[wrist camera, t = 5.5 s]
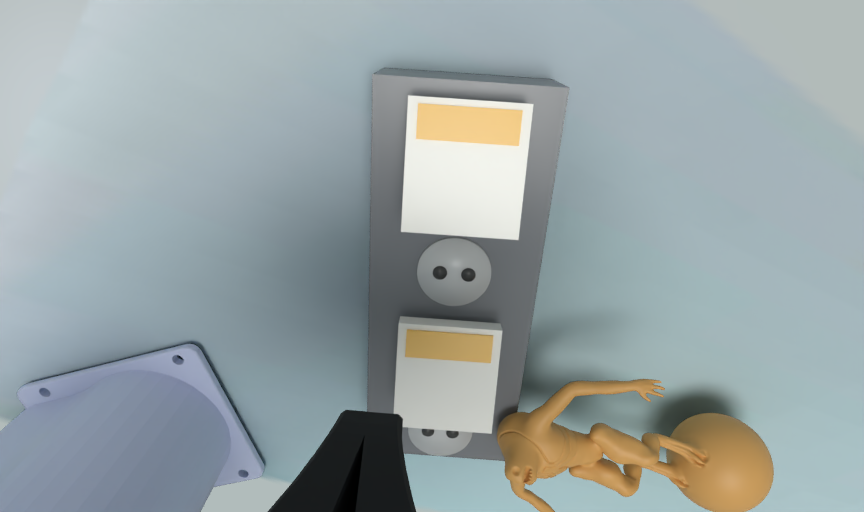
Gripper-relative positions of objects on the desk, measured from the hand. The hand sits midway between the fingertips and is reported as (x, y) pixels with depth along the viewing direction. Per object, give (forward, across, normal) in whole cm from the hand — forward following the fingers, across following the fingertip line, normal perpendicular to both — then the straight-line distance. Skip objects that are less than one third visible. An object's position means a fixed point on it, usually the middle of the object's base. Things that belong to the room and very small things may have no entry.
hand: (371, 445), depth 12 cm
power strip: (+10, -2, 0) cm, 11 cm away
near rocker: (+7, -2, -5) cm, 8 cm away
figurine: (+10, -15, +7) cm, 20 cm away
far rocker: (+7, -2, +3) cm, 7 cm away
